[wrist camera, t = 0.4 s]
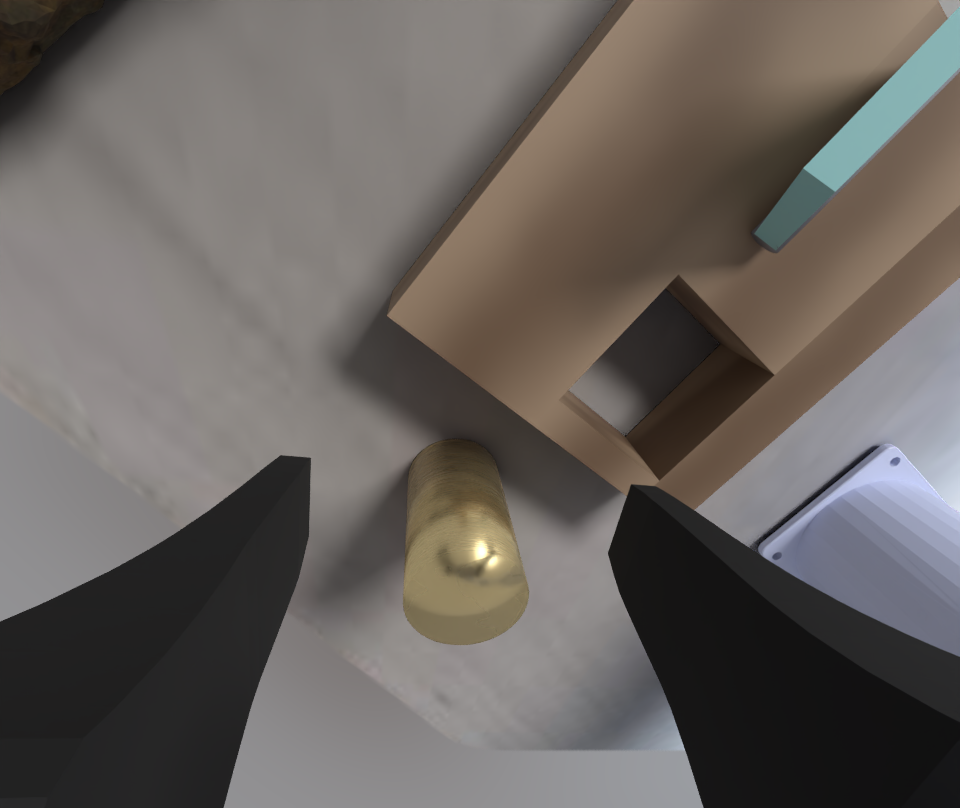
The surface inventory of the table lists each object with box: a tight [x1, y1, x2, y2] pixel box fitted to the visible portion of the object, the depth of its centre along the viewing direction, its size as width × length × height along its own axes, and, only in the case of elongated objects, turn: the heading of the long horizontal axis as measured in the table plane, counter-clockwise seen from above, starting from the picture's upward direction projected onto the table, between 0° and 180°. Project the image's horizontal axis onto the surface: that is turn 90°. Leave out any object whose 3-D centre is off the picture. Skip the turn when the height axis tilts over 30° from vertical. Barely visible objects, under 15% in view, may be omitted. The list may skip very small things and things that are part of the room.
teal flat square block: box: [751, 7, 960, 253], centre depth 12 cm, size 6×6×1 cm
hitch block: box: [387, 0, 960, 510], centre depth 17 cm, size 14×16×4 cm
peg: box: [403, 439, 529, 645], centre depth 19 cm, size 4×4×7 cm
